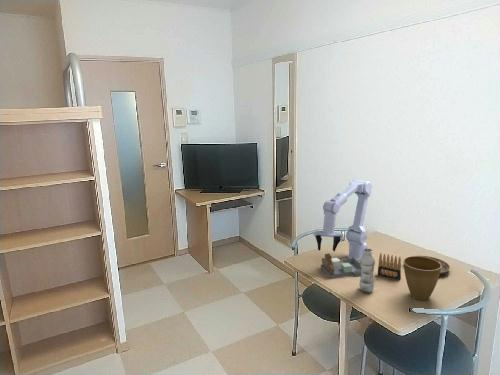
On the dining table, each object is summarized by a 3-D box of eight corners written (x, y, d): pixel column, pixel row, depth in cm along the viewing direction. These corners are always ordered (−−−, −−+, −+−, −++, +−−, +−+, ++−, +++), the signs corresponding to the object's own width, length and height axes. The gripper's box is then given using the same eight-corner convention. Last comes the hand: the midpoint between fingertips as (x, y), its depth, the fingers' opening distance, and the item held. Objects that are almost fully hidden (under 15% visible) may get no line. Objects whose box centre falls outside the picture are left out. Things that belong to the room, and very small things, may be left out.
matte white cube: (337, 262, 184) (337, 257, 184) (340, 266, 180) (340, 260, 180) (330, 263, 184) (330, 258, 183) (333, 267, 180) (333, 261, 179)
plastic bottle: (366, 295, 156) (367, 254, 151) (356, 288, 162) (357, 248, 157) (377, 292, 158) (379, 251, 154) (366, 285, 164) (368, 246, 160)
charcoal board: (342, 265, 186) (342, 261, 185) (353, 275, 174) (353, 271, 174) (320, 268, 184) (320, 264, 183) (329, 278, 172) (329, 274, 172)
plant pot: (445, 297, 152) (448, 263, 148) (427, 309, 144) (430, 274, 140) (412, 284, 164) (415, 252, 160) (394, 294, 155) (396, 261, 152)
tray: (353, 263, 188) (353, 257, 187) (366, 274, 175) (366, 268, 174) (342, 264, 187) (342, 258, 186) (354, 276, 173) (354, 269, 173)
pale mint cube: (348, 268, 178) (348, 262, 177) (351, 271, 174) (352, 266, 174) (341, 268, 177) (341, 263, 177) (344, 272, 174) (344, 266, 173)
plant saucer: (407, 257, 192) (407, 252, 191) (450, 265, 182) (450, 259, 181) (401, 273, 175) (402, 267, 174) (448, 282, 164) (449, 276, 164)
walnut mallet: (325, 263, 184) (325, 249, 182) (335, 274, 172) (335, 260, 170) (320, 263, 184) (320, 250, 182) (330, 274, 171) (331, 260, 170)
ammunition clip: (400, 278, 169) (402, 256, 166) (400, 280, 168) (401, 257, 165) (378, 273, 175) (379, 251, 172) (377, 275, 174) (378, 253, 171)
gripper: (317, 225, 171) (314, 251, 172) (345, 227, 171) (342, 253, 173) (313, 222, 178) (311, 247, 179) (341, 224, 178) (338, 249, 180)
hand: (326, 250), depth 177 cm, fingers open, 7 cm apart
